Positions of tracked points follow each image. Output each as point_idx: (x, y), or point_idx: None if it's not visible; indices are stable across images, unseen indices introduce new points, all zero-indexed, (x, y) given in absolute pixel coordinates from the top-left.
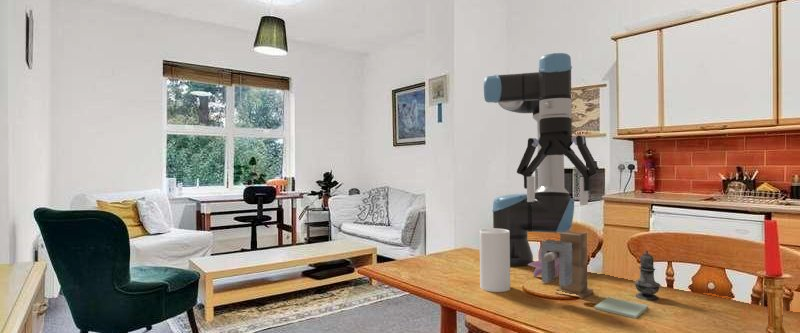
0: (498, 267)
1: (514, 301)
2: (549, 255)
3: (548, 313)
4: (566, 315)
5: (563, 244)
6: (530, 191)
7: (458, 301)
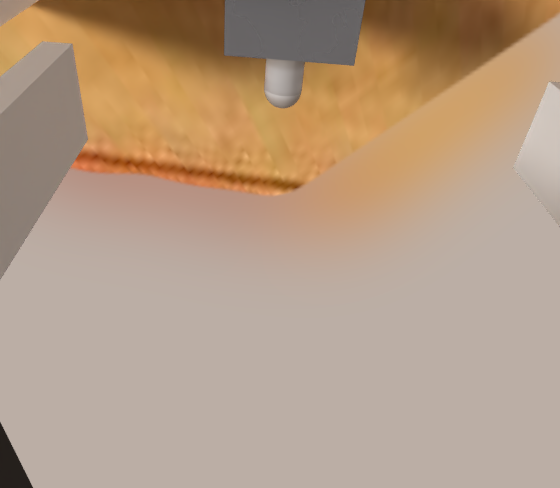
0: (24, 7)
1: (166, 46)
2: (292, 103)
3: None
4: (347, 67)
5: (343, 51)
6: (53, 170)
7: None
